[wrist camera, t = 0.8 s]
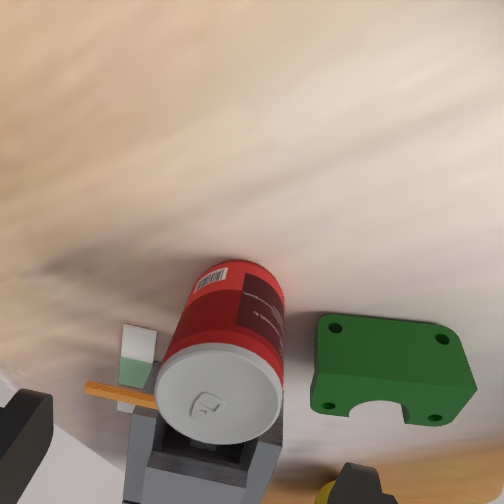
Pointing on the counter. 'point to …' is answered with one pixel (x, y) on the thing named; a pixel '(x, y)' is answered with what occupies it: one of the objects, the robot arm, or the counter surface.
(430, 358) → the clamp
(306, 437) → the counter surface
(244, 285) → the canned food
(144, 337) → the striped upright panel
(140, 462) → the box
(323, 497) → the lemon
